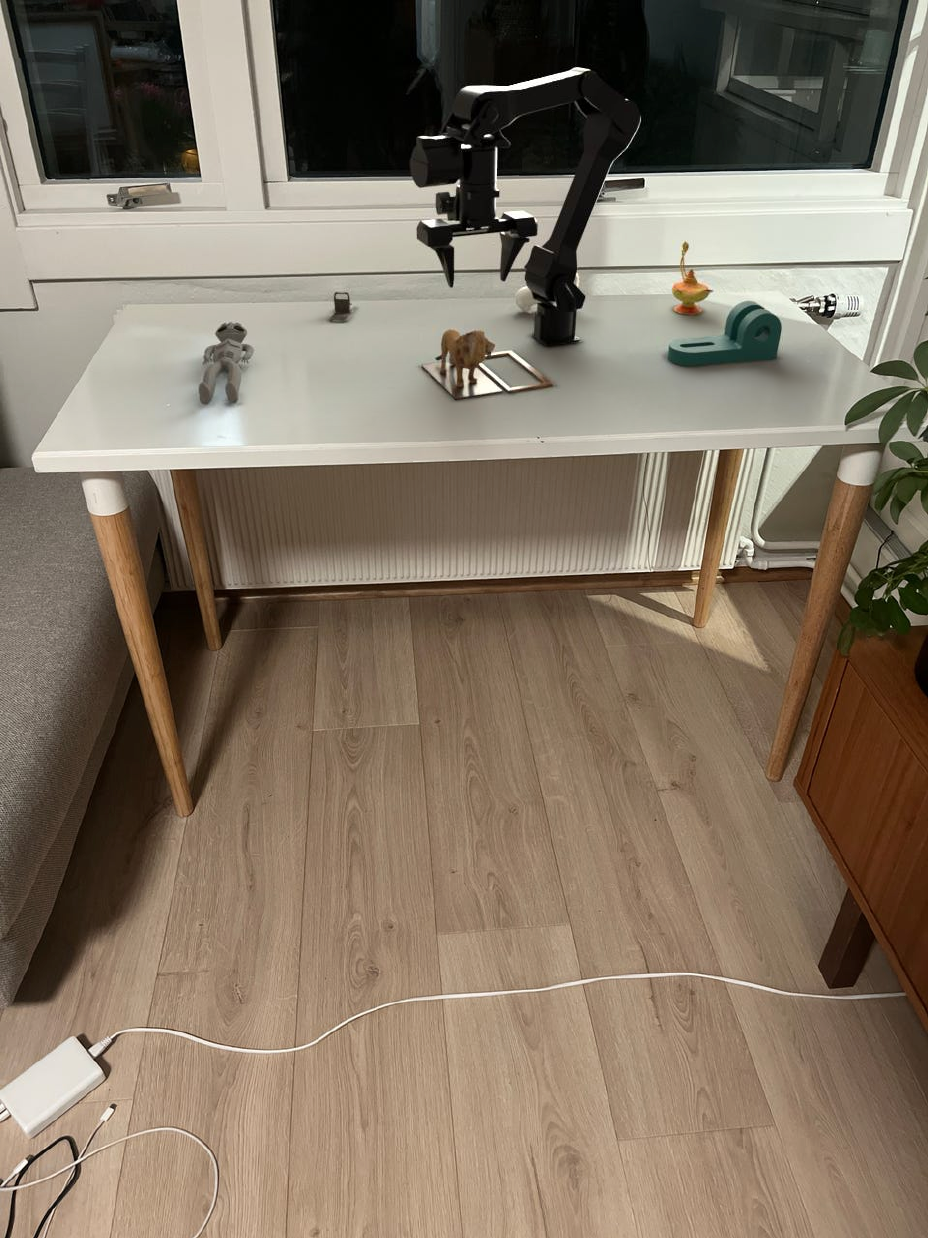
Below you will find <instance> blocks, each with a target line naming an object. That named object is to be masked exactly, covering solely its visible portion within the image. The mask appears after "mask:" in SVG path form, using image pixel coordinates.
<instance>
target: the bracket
mask: <svg viewBox="0 0 928 1238" xmlns="http://www.w3.org/2000/svg"><path fill="white" fill-rule="evenodd" d="M782 331H783V324H782V321H781V319H780V318H779V316H777V315H775V314H774V313H772V312H771V311H769V310H768V309H766V308H765V307H763V306H762V305H761V304H759V303H757V302H756V301H753V300H744V301H741V302H739V303H738V304H736V305H735V306H733V308H732V309H731V310H730V311H729V313H728V314H727V318H726V321H725V325H724V333H723V334H720V335H709V336H696V337H683V338H677V339H672V340H671V341H670V342H669V343H668V350H667V360H668V361H670V362H671V363H674V364H675V365H676V364H677V365H681V366H686V367H687V366H689V367H691V366H692V367H695V366H707V365H717V364H729V363H739V362H749V361H750V362H752V361H763V360H764V361H765V360H773V359H777V358H778V357H777V356H778V351H779V347H780V341H781V336H782Z"/></svg>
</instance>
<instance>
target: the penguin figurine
mask: <svg viewBox="0 0 928 1238" xmlns="http://www.w3.org/2000/svg"><path fill="white" fill-rule="evenodd" d="M579 278H580V276H579V273H578V272H577V274H576V277H575V281H574V284H575V285H576V286H577V287H578V288H579V286H580V280H579ZM514 298H515V299H514V301H515V304H516V306H518V308H519V309H520V311H521V312H522V313H525V312H526V313H528V314H530V310H531V309H532V307H533V306H535V305H536V306H537V303H541V302H540V301H538V300H534V299H533V296H532V293H531V290H529V288H528V287H527V285H526V286H524V287H520V288H519V289H518V290H517V291H516V293H515V296H514Z"/></svg>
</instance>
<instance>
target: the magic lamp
mask: <svg viewBox="0 0 928 1238" xmlns="http://www.w3.org/2000/svg"><path fill="white" fill-rule="evenodd" d="M681 247H682V250H681V258H680V262H679V267H680V274H681V279H682V281H679V282H676V283H674V284H673V285H672V287H671V293H672V295H673V296H674V298H675V299H677V300H678V301H680V302H682V303H681V304H680V305H678V306H675V307H674V308H673V311H674V312H675V313H678V314H682V315H688V316H689V315H698V314H701V312H702V309H701V308H699V306H697V305H696V303H699V302H700V303H701V302H702V301H704V300H705V299H707V298H708V297H709V295H710V294H711V293H713V292H714V289H709V286H707V285H706V284H704V283H701V282H698V279H697V277H696V276H695V271H694V269H693V268H690V269H689V270H688V271H686V267H685V265H686V264H685V255H686V253H687V252H688V251H689V249H690V244H689V243H688V242H687V241H686V240H684V242H683V243H682V245H681Z"/></svg>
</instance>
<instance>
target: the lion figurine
mask: <svg viewBox="0 0 928 1238" xmlns="http://www.w3.org/2000/svg"><path fill="white" fill-rule="evenodd" d="M485 334H486V333H485V331H482V330H476V329H475V330H473V331H470V332H466V333H465V334H462V335H461V334H460V332H459V331H458V330H456V329H452V328H449V329H448V330H446V331H445V332H443V334H442V336H441V342H440V348H441V354H440V355H438V356H436V357H434V359H435V360H436V361H440V362H441V369H440V373H442V374H443V373H447V370H446V362H447V357H448V354H449V358H448V361H449V363H450V364H451V365H456V374H457V386H458V387H463V386H464V380H463V376H462V373H463V368H465V369H469V374H468V380H469V381H470V382H471V383H476V382H477V379H476V378H474V371H475V368H479V367H478V366H479V364H480V363H482V364H483V362H484V361H485V360H486V358H485V355H487V356H491V353H493V352H494V349H495V347H496V344H494V343H493V342H492V341H490V340H489V339H488V338H487V337H486V336H485Z"/></svg>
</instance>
